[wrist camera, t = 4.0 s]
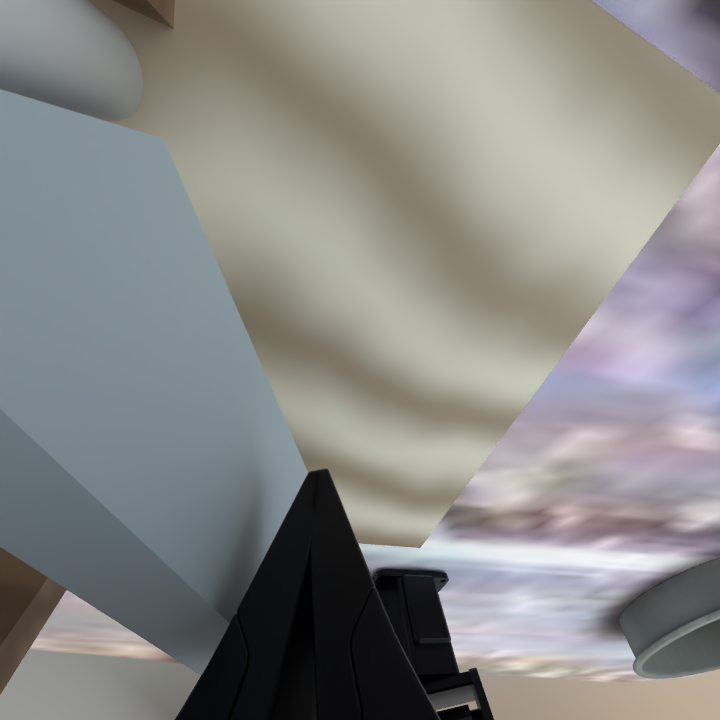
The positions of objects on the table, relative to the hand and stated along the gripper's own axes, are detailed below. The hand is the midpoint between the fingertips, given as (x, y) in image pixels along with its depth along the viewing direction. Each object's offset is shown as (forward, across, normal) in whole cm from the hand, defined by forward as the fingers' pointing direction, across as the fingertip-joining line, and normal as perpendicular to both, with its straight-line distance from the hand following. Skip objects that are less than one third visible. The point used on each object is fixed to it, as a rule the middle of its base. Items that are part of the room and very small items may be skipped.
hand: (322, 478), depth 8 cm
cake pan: (+8, -38, +42) cm, 58 cm away
